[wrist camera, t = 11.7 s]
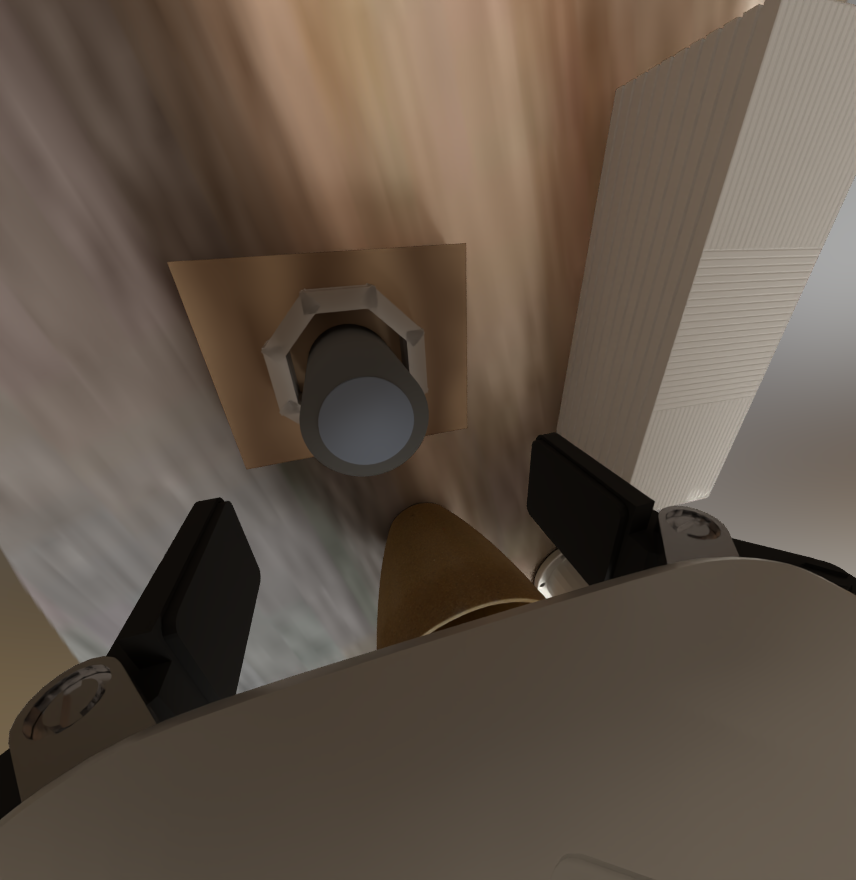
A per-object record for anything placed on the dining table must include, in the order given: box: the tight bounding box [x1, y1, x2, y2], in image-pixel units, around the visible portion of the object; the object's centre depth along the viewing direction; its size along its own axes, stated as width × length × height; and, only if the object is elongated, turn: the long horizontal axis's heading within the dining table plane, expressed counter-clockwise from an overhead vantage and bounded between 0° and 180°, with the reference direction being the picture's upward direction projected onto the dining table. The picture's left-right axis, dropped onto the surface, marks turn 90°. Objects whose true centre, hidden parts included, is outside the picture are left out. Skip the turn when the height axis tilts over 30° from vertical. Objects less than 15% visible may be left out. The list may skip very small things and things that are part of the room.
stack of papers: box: [556, 0, 856, 510], centre depth 29 cm, size 32×11×11 cm, turn 1°
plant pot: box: [377, 503, 546, 650], centre depth 32 cm, size 15×15×16 cm
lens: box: [299, 324, 429, 476], centre depth 20 cm, size 6×6×10 cm
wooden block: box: [167, 243, 467, 469], centre depth 25 cm, size 18×14×6 cm
